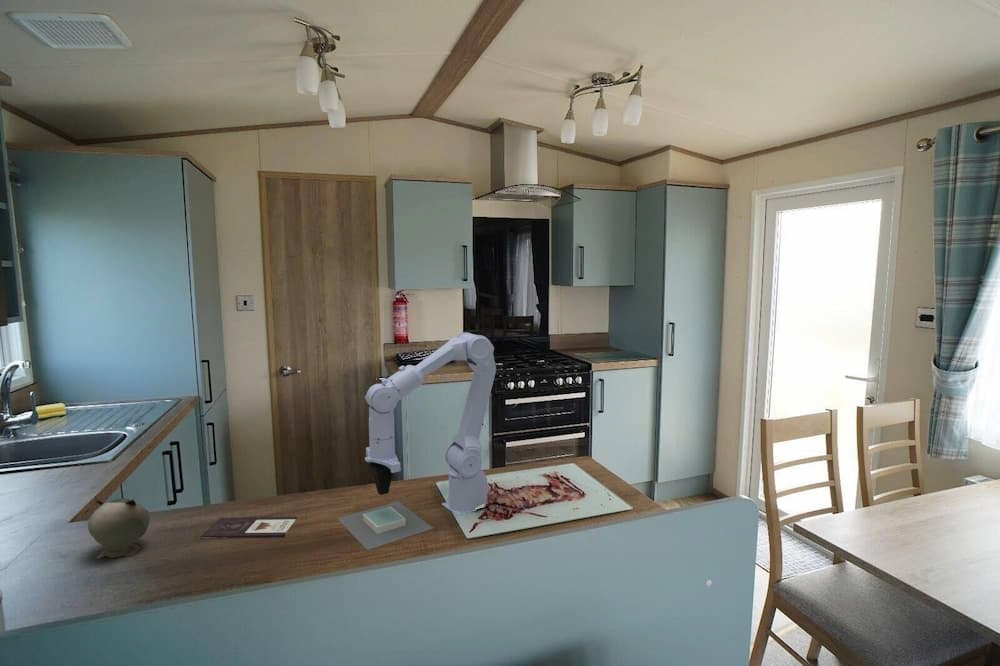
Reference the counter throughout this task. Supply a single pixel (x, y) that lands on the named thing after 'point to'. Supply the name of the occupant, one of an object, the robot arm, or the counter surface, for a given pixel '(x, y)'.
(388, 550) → the counter surface
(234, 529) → the chocolate bar
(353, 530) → the mat
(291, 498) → the counter surface
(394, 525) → the tile
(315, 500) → the counter surface
